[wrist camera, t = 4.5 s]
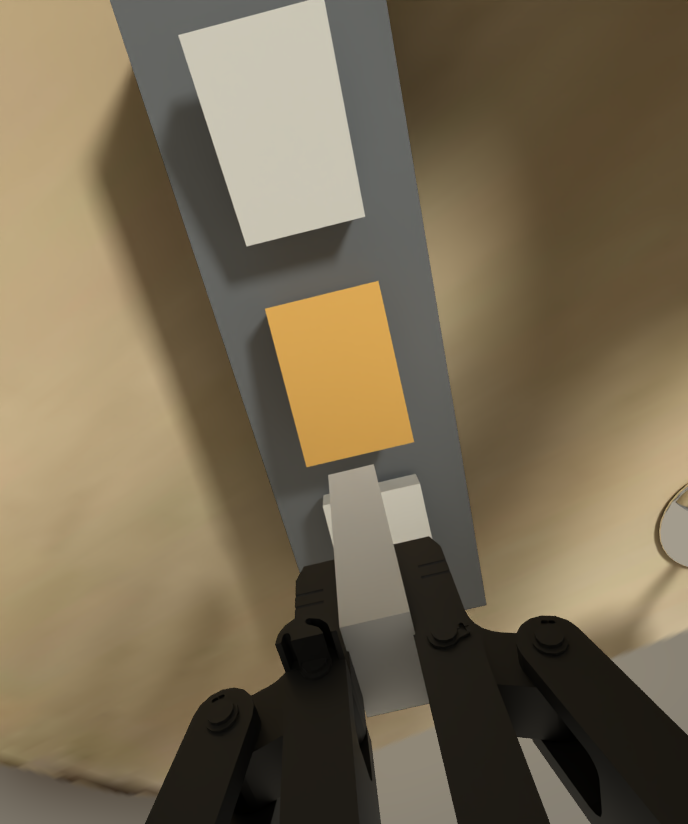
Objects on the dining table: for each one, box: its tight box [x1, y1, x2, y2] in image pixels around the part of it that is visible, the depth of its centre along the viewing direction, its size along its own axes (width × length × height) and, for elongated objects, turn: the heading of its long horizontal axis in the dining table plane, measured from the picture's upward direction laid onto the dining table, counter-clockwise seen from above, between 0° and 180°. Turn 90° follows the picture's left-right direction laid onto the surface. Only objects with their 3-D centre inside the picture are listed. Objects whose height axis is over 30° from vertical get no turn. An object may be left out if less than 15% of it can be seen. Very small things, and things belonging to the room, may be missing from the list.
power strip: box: [110, 0, 486, 610], centre depth 24 cm, size 36×9×7 cm, turn 13°
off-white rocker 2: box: [323, 474, 432, 548], centre depth 25 cm, size 6×4×1 cm
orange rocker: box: [265, 281, 414, 467], centre depth 22 cm, size 6×4×1 cm
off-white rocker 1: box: [178, 0, 365, 246], centre depth 18 cm, size 6×4×1 cm
